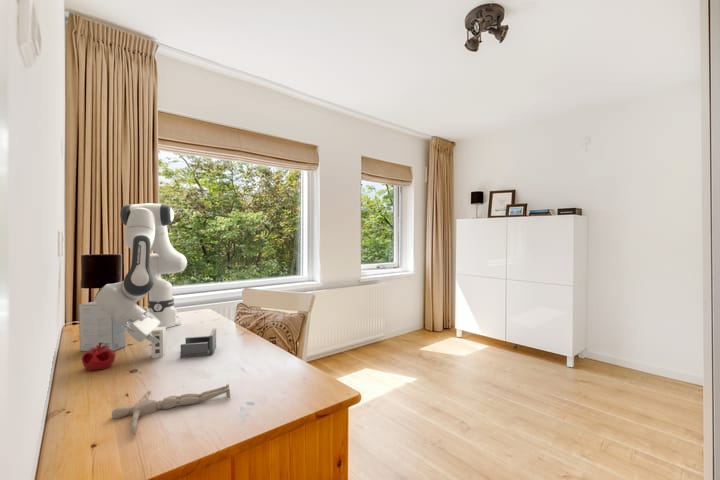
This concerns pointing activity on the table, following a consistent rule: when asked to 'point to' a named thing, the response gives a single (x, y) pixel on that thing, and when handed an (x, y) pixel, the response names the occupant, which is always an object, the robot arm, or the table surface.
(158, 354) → the ivory rectangular block
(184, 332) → the table surface
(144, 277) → the robot arm
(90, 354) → the pomegranate
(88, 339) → the hard drive box
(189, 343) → the bracket
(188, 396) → the artist's mannequin
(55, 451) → the table surface
